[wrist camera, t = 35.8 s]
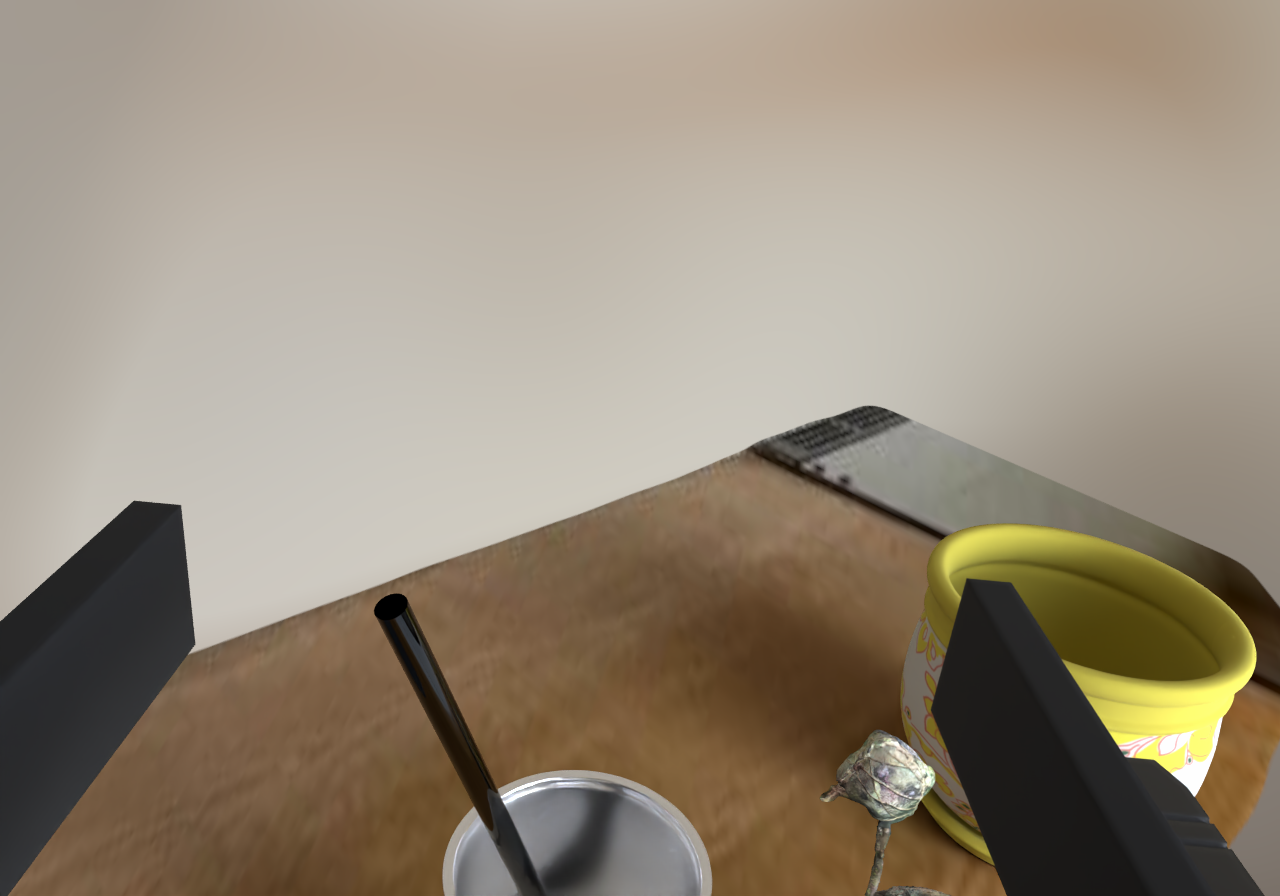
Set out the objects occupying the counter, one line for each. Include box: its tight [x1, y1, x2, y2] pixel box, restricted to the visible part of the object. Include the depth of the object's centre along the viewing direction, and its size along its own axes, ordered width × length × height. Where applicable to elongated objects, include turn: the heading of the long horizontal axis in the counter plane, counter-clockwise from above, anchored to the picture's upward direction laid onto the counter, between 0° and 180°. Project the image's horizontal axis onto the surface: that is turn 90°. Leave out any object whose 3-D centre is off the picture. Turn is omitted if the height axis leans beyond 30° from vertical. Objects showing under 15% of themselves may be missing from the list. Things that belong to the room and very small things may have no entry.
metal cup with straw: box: [374, 594, 712, 896], centre depth 35 cm, size 11×11×30 cm
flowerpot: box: [901, 524, 1256, 866], centre depth 60 cm, size 18×18×16 cm
